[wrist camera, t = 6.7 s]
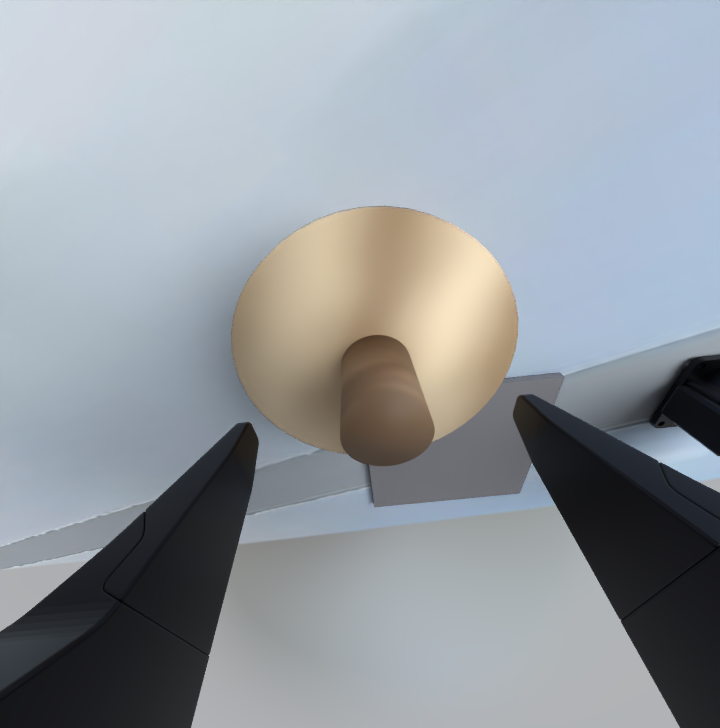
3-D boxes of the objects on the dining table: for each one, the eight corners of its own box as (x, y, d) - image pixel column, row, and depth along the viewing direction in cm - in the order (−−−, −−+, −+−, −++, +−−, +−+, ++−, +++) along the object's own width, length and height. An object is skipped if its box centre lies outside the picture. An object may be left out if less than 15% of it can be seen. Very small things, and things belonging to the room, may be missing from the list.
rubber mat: (559, 372, 20) (564, 376, 19) (517, 488, 28) (519, 493, 27) (360, 393, 20) (360, 397, 20) (373, 502, 28) (374, 507, 27)
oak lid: (540, 184, 9) (680, 194, 6) (486, 432, 16) (532, 516, 12) (187, 228, 10) (78, 266, 6) (279, 453, 16) (258, 543, 12)
